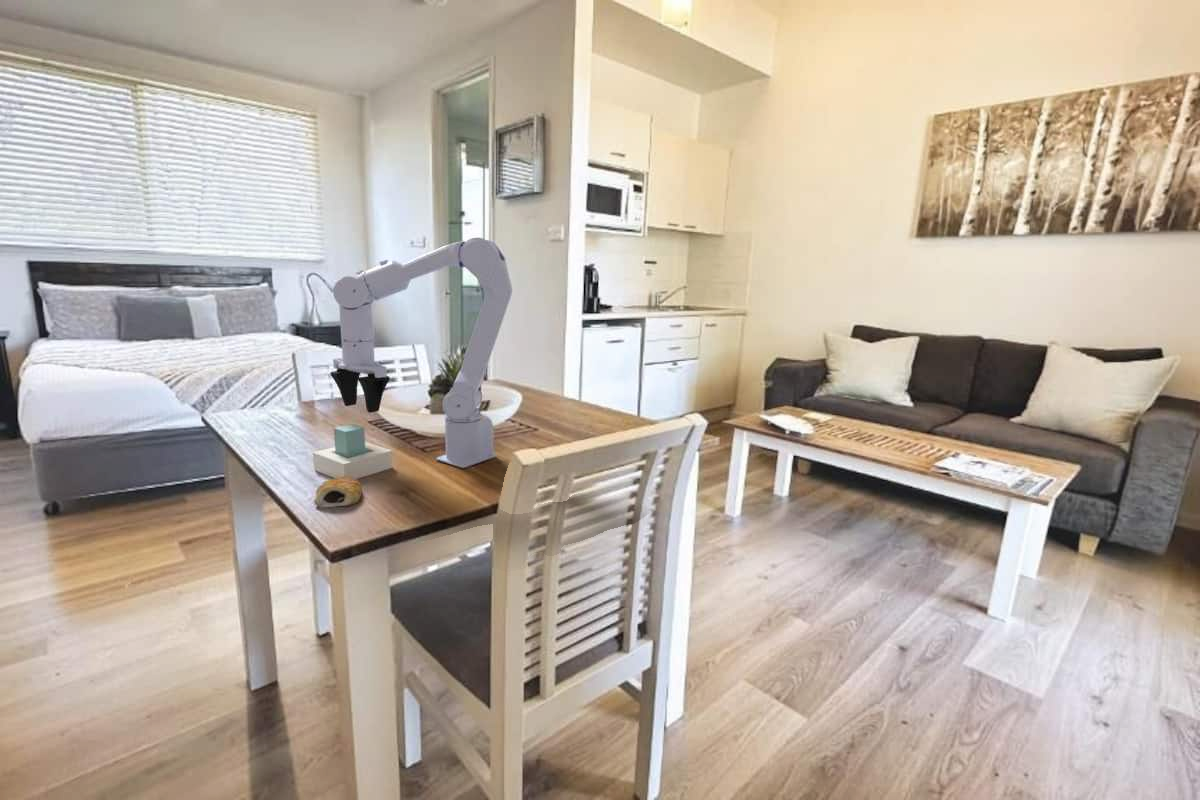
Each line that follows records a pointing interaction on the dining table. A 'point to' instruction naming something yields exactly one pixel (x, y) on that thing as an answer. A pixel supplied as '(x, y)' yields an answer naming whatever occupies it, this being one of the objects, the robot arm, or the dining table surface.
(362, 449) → the post
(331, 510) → the dining table surface
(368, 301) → the robot arm
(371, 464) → the well
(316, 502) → the pastry
